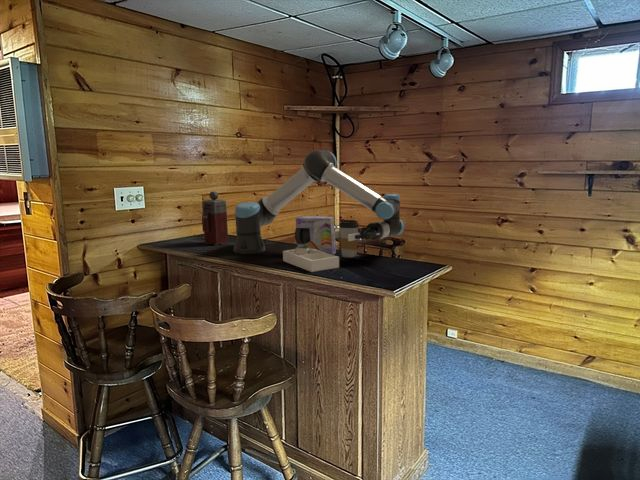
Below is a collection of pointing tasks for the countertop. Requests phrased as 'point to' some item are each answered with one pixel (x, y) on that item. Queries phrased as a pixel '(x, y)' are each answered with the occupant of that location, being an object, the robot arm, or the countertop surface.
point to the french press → (214, 220)
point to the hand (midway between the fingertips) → (341, 236)
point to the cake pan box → (316, 233)
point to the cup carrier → (312, 260)
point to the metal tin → (302, 250)
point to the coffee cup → (345, 229)
